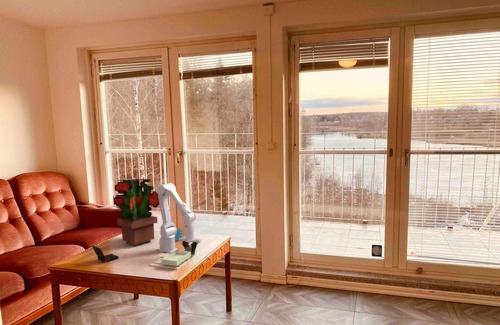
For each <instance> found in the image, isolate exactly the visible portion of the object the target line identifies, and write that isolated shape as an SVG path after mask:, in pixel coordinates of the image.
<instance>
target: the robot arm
mask: <svg viewBox="0 0 500 325" xmlns="http://www.w3.org/2000/svg"><path fill="white" fill-rule="evenodd" d="M156 190H157V191H156V192H157V193H158V198H159V209H160V214H161V221H162V224H161V225H160V227H159V229H160V231H159V232H160V233H159V234H160V238H159V240H158V241H159V243H158V244H159V250H158V251H159V252H160V253H161V252H162V253H169V254H171V253H172V252H174V251H176V250H178V248H177V247H176V241H175V234H176V233H177V229H178V228H177V226H176V224H175V223H174V222H173V221H172V218H171V217H172V216H171V212H170V207H169V200H168V198H169V197H170V198H171V199H172V200H173V202H174V203H175V204H176V206H177V207H176V209H177V210H178V212H179V214H180V215H181V216H182V217H181V219H182V222H183V225H184V237H183V238H179V240H178V241H179V242H181V245H182V247H183V249H184V251H186V246H188V245H191V247H192V254H195V255H196V250H197V247H198V244H201V243H202V240H201V239H200V238H196V237H195V222H194V221H195V220H196V217H197V216H196V214H195V212H193V211H192V210H190V208H189V207H188V205H187V203H185V202H183V201H182V200H181V198H180V196H179V194H178V193H177V187H176V185H175V183H173V182H167V183H162V184H159V185H158V186H157V188H156ZM176 228H177V229H176ZM189 243H190V244H189Z"/></svg>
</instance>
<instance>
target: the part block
mask: <svg viewBox="0 0 500 325" xmlns="http://www.w3.org/2000/svg"><path fill="white" fill-rule="evenodd" d="M186 251H187V252H191V257H190V258H193V257H194V256H195V255H196V253H195V254H192V247H191V244H189V245H188V246H186Z"/></svg>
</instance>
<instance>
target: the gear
mask: <svg viewBox="0 0 500 325" xmlns="http://www.w3.org/2000/svg"><path fill="white" fill-rule="evenodd" d="M176 229H177V233H176V234H175V242H177V241H179V238H184V235H183V234H184V233H183V230H182V229H181V228H177V227H176Z"/></svg>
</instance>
